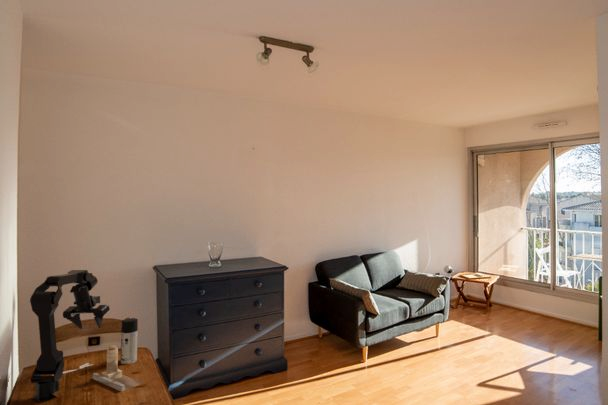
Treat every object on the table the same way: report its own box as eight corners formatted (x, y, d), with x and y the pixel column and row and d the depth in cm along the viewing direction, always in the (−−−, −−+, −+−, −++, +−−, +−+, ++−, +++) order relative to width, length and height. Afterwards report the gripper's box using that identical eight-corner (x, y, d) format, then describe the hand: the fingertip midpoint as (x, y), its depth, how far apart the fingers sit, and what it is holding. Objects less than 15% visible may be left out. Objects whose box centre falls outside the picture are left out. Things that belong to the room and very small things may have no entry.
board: (121, 395, 145) (121, 386, 145) (92, 382, 156) (92, 373, 156) (142, 386, 152) (143, 377, 153) (114, 374, 163) (114, 366, 163)
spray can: (120, 363, 176) (121, 318, 177) (136, 360, 179) (137, 317, 179) (120, 368, 170) (121, 322, 170) (137, 365, 173) (138, 320, 173)
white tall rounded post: (108, 381, 153) (109, 349, 153) (101, 378, 156) (102, 347, 156) (121, 376, 158) (122, 345, 158) (115, 374, 161) (115, 343, 161)
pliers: (49, 374, 161) (83, 361, 174) (49, 378, 161) (83, 365, 174) (65, 378, 157) (98, 365, 170) (65, 382, 157) (98, 368, 170)
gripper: (112, 287, 176) (120, 317, 180) (74, 288, 178) (82, 318, 182) (98, 299, 165) (106, 331, 170) (57, 301, 167) (66, 332, 171)
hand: (90, 328), depth 173 cm, fingers open, 9 cm apart
